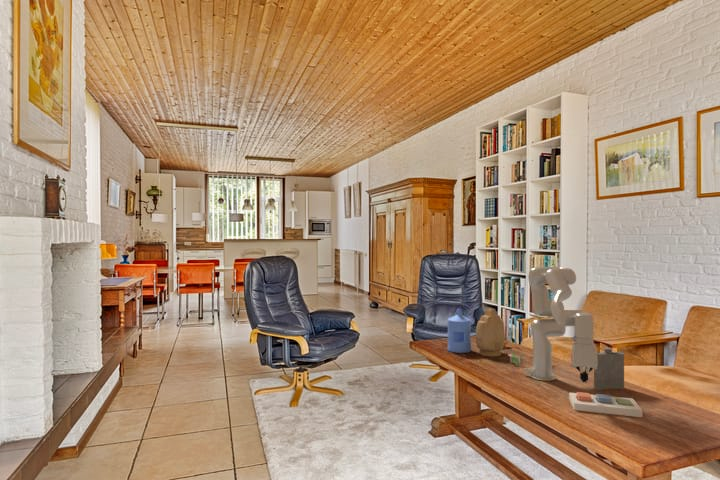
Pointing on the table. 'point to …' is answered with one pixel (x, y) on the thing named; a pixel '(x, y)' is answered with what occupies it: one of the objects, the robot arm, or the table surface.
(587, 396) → the terracotta button
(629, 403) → the olive green button
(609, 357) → the hip flask
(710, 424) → the table surface
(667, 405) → the table surface
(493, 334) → the sculpture
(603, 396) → the slate blue button
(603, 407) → the button board
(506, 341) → the magic lamp
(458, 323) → the water jug
